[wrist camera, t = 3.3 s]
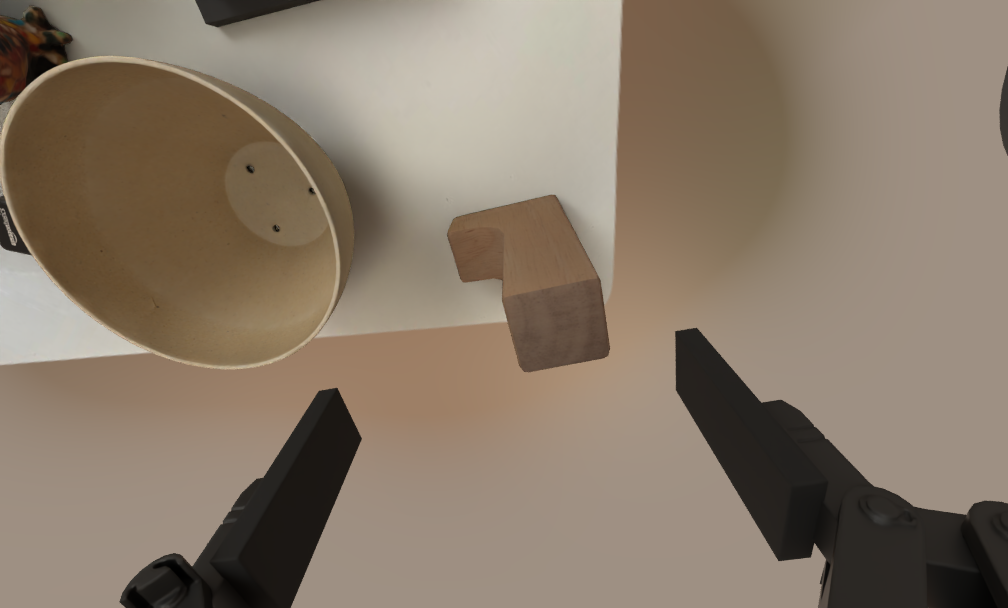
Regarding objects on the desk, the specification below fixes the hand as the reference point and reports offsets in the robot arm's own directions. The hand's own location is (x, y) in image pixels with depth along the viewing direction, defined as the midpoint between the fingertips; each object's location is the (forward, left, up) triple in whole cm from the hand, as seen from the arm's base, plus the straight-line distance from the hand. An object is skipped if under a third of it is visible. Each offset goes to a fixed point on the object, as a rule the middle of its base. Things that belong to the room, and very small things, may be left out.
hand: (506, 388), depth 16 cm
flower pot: (+18, -6, -22) cm, 29 cm away
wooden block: (0, 0, -22) cm, 22 cm away
